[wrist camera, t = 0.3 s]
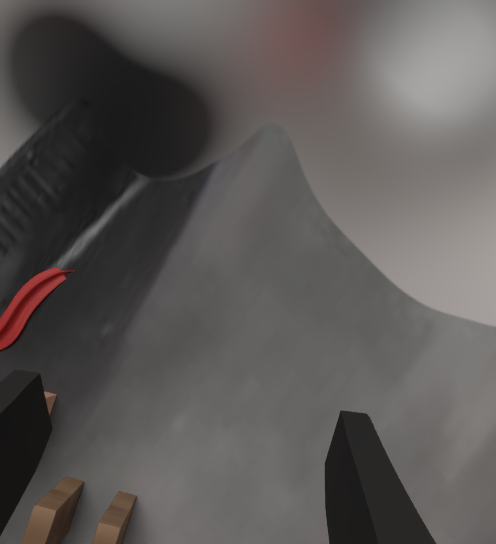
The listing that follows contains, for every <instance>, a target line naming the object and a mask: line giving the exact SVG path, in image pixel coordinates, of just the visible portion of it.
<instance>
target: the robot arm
mask: <svg viewBox="0 0 496 544" xmlns="http://www.w3.org/2000/svg"><path fill="white" fill-rule="evenodd" d="M51 431H52V425H51V420H50V416H49V411H48V407H47V403H46V398H45V394H44V389H43V385H42V380H41V376H40V373H35V372H27V371H19V370H14V371H13V372H12V373H10V374H9V375H8V376H7V377H5V378H4V379H3V380H1V381H0V535H1V534H2V532H3V530H4V528H5V526H6V525H7V523H8V521H9V519H10V517H11V515H12V514H13V512H14V510H15V508H16V506H17V505H18V503H19V501H20V499H21V497H22V495H23V493H24V492H25V490H26V488H27V486H28V484H29V482H30V480H31V479H32V477H33V475H34V473H35V471H36V469H37V466H38V464H39V461H40V459H41V457H42V454H43V452H44V449H45V447H46V444H47V442H48V439H49V436H50V434H51ZM325 507H326V517H327V526H328V534H329V543H330V544H436V543H435V541H434V539H433V538H432V536H431V534H430V533H429V531H428V529H427V528H426V526H425V524H424V523H423V521H422V519H421V517H420V516H419V514H418V512H417V510H416V508H415V507H414V505H413V503H412V501H411V499H410V498H409V496H408V494H407V492H406V490H405V489H404V487H403V485H402V483H401V481H400V479H399V477H398V475H397V473H396V472H395V470H394V468H393V466H392V464H391V462H390V460H389V458H388V456H387V454H386V451H385V449H384V447H383V445H382V443H381V441H380V439H379V437H378V434H377V432H376V430H375V428H374V426H373V423H372V421H371V419H370V417H369V416H368V415H367V414H365V413H357V412H349V411H340V415H339V418H338V421H337V425H336V428H335V431H334V435H333V438H332V441H331V445H330V448H329V451H328V455H327V458H326V461H325Z"/></svg>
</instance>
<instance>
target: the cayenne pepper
mask: <svg viewBox="0 0 496 544" xmlns="http://www.w3.org/2000/svg"><path fill="white" fill-rule="evenodd" d="M68 272H73V271H60V270H59V268H52V269H49V270H46V271H44V272H41V273H39V274H38V275H36V276H34V277H33V278H32V279H30V280H29V281H28V282H27V283H26V284H25V285H24V286H23V287H22V288H21V289H20V290H19V292H18V293H17V294H16V296H15V297H14V298H13V300H12V301H11V303H10V305H9V306H8V308H7V309H6V311H5V313H4V314H3V316H2V317H1V318H0V350H2V349H4V348H6V347H8V346H9V345H11V344H12V343H13V342H14V341H15V340H16V339H17V338H18V336H19V335H20V334H21V332H22V330H23V329H24V327H25V325H26V323H27V321H28V319H29V318H30V316H31V314H32V313H33V311H34V310H35V309H36V308H37V306H38V305H39V304H40V303H41V302H42V300H43V299H44V298H45V297H46V296H47V295H48V294H49V293H50V292H51V291H53V290H54V289H55V288H56V287H57V286H58V285H60V284H61V283H62V282H63V281H64V280H66V278H65V277H64V275H65V274H66V273H68Z"/></svg>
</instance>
